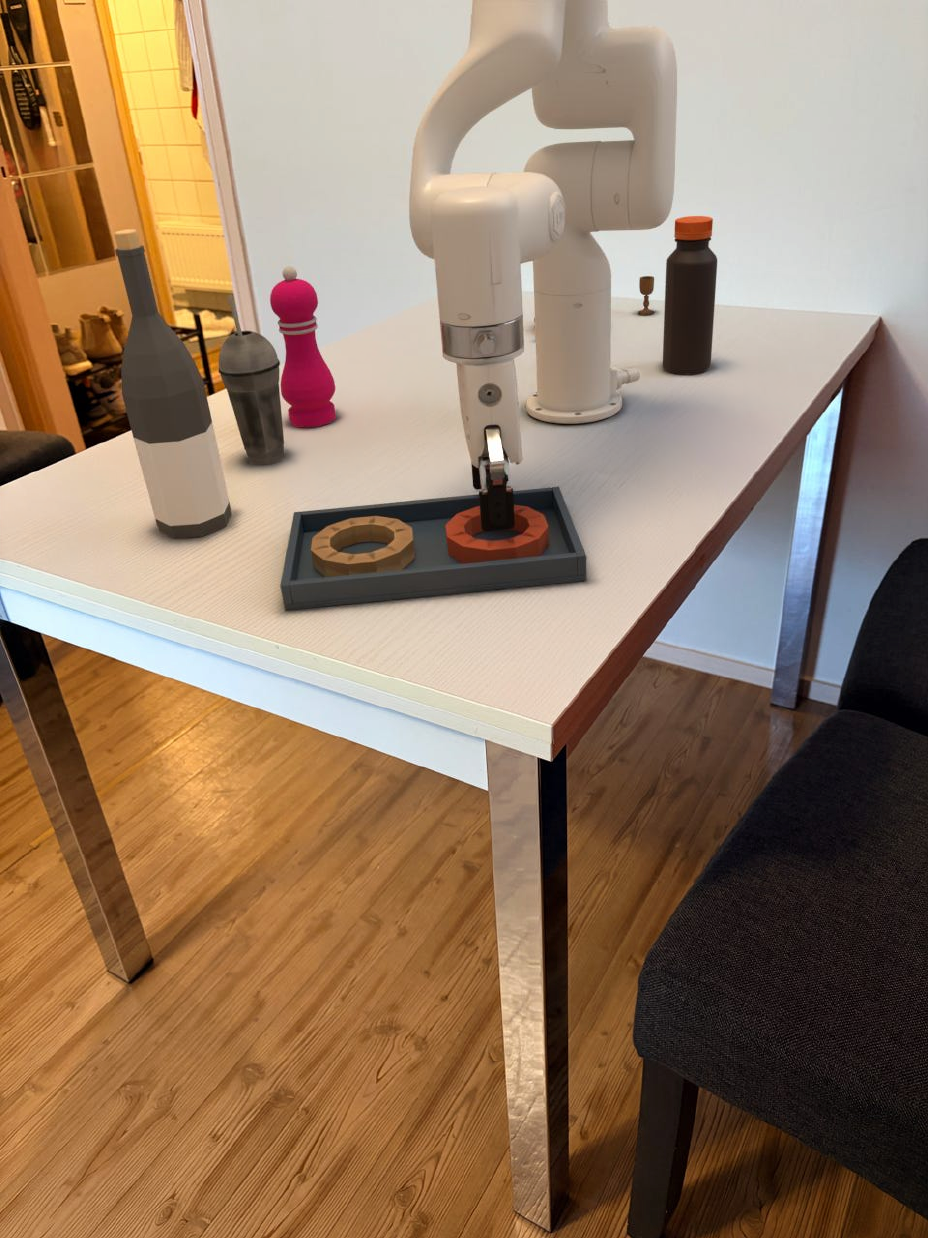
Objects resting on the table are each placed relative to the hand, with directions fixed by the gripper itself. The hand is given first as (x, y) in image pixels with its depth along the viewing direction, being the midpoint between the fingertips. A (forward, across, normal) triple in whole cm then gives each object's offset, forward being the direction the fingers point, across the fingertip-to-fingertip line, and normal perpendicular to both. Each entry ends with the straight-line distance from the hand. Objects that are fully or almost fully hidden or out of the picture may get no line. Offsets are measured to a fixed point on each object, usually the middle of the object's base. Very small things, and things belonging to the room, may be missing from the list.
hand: (493, 507), depth 96 cm
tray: (+3, -4, +7) cm, 8 cm away
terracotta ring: (+2, -4, 0) cm, 5 cm away
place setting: (+3, +72, -24) cm, 76 cm away
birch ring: (+2, -4, +13) cm, 14 cm away
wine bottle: (+3, +9, +32) cm, 33 cm away
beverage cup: (+3, +26, +26) cm, 37 cm away
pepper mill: (+3, +39, +21) cm, 44 cm away
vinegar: (+3, +46, -32) cm, 56 cm away
